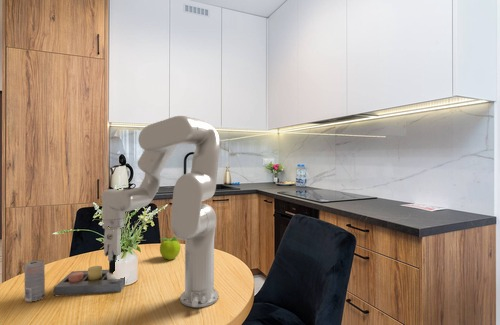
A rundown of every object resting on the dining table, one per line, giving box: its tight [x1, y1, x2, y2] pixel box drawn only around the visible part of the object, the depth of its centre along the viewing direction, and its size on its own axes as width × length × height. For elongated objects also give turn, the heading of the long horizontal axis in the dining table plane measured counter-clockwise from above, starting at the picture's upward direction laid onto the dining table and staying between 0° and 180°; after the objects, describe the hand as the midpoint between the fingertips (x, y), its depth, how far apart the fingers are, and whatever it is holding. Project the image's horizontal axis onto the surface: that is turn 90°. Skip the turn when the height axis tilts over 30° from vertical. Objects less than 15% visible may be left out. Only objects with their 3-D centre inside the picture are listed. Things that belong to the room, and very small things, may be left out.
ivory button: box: [107, 272, 116, 280], centre depth 109 cm, size 5×5×4 cm
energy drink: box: [24, 259, 46, 303], centre depth 98 cm, size 5×5×12 cm
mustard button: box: [87, 265, 103, 281], centre depth 108 cm, size 5×5×4 cm
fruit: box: [159, 236, 181, 261], centre depth 137 cm, size 9×9×10 cm
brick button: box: [68, 272, 83, 282], centre depth 107 cm, size 5×5×4 cm
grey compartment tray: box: [53, 269, 126, 296], centre depth 108 cm, size 14×21×3 cm, turn 99°
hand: (114, 272), depth 109 cm, fingers closed
